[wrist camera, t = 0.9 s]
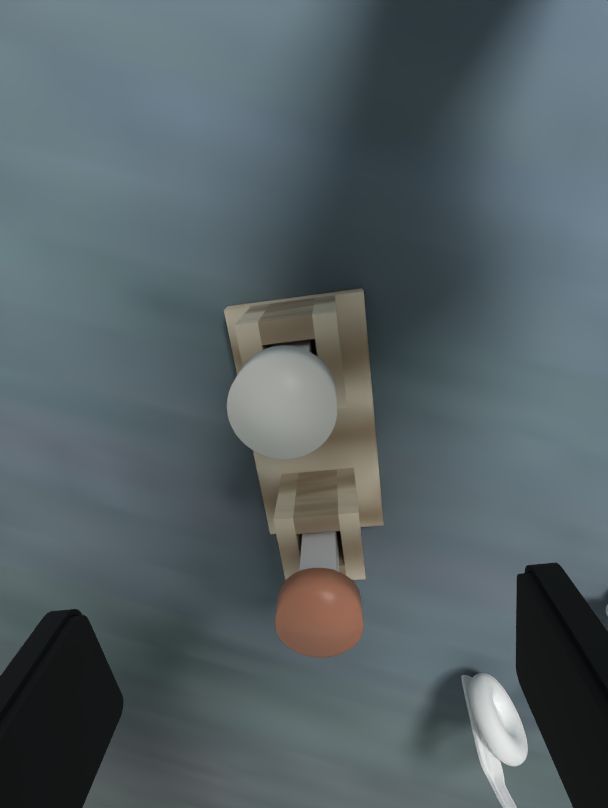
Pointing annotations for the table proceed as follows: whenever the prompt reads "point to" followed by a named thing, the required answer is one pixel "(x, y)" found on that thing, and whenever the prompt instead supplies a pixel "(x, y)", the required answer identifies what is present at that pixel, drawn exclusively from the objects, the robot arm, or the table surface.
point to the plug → (283, 401)
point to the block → (348, 442)
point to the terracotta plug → (319, 602)
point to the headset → (495, 730)
